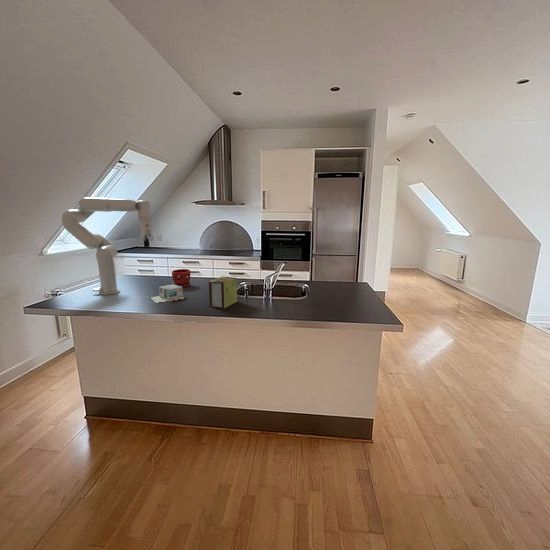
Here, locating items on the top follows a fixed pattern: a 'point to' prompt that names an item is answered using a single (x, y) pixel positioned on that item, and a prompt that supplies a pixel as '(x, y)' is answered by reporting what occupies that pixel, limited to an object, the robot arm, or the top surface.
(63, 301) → the top surface
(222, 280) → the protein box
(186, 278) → the plant pot
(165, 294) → the light bulb box
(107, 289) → the robot arm
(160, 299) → the pale green mat
